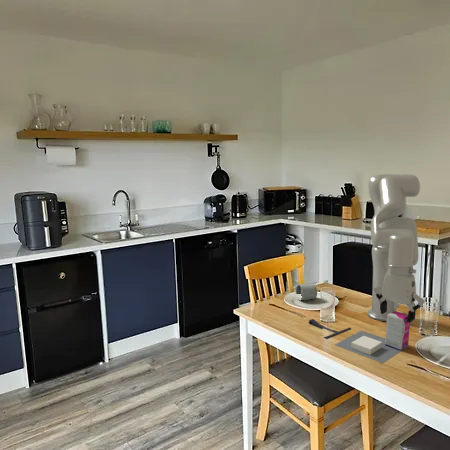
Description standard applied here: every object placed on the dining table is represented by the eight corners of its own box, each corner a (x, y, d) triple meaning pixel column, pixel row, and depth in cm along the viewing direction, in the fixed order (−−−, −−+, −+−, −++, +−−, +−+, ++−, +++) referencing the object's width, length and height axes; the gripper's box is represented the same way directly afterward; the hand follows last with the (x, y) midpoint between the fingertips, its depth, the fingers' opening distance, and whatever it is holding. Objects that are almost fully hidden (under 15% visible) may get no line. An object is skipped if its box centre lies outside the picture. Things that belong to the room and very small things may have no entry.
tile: (363, 335, 144) (351, 342, 138) (382, 342, 138) (370, 349, 133) (363, 341, 144) (351, 348, 139) (381, 347, 139) (369, 355, 133)
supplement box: (400, 351, 136) (402, 319, 134) (384, 345, 140) (385, 314, 139) (409, 346, 140) (411, 314, 138) (393, 340, 144) (394, 310, 142)
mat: (361, 331, 153) (361, 330, 153) (408, 347, 140) (408, 345, 140) (334, 346, 142) (334, 344, 142) (382, 365, 128) (382, 363, 128)
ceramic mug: (318, 301, 188) (318, 285, 187) (302, 303, 186) (302, 286, 185) (307, 294, 198) (308, 279, 197) (292, 296, 196) (292, 281, 195)
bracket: (321, 320, 167) (321, 314, 166) (351, 332, 155) (351, 325, 154) (297, 329, 158) (297, 322, 158) (327, 342, 146) (327, 335, 146)
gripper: (430, 272, 132) (427, 321, 136) (381, 262, 145) (378, 306, 148) (421, 278, 127) (417, 328, 131) (370, 266, 140) (368, 312, 144)
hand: (396, 316), depth 140 cm, fingers open, 9 cm apart
